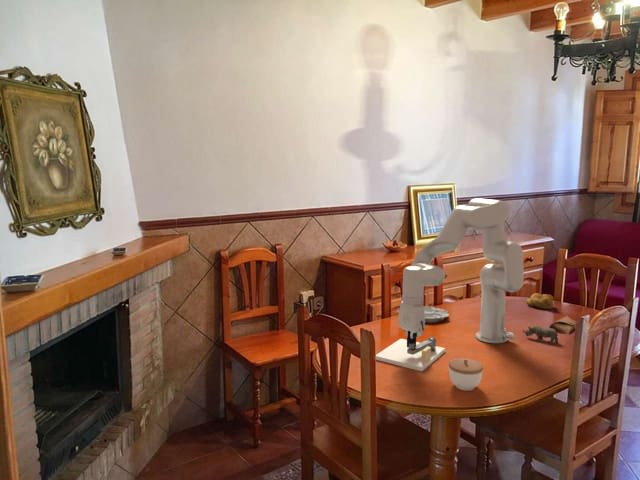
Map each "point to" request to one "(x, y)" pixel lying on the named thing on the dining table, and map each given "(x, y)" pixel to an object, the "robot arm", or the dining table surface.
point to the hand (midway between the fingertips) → (411, 347)
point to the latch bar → (422, 346)
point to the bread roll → (541, 301)
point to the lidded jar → (465, 373)
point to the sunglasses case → (564, 325)
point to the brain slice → (434, 314)
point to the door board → (409, 355)
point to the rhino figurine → (542, 333)
